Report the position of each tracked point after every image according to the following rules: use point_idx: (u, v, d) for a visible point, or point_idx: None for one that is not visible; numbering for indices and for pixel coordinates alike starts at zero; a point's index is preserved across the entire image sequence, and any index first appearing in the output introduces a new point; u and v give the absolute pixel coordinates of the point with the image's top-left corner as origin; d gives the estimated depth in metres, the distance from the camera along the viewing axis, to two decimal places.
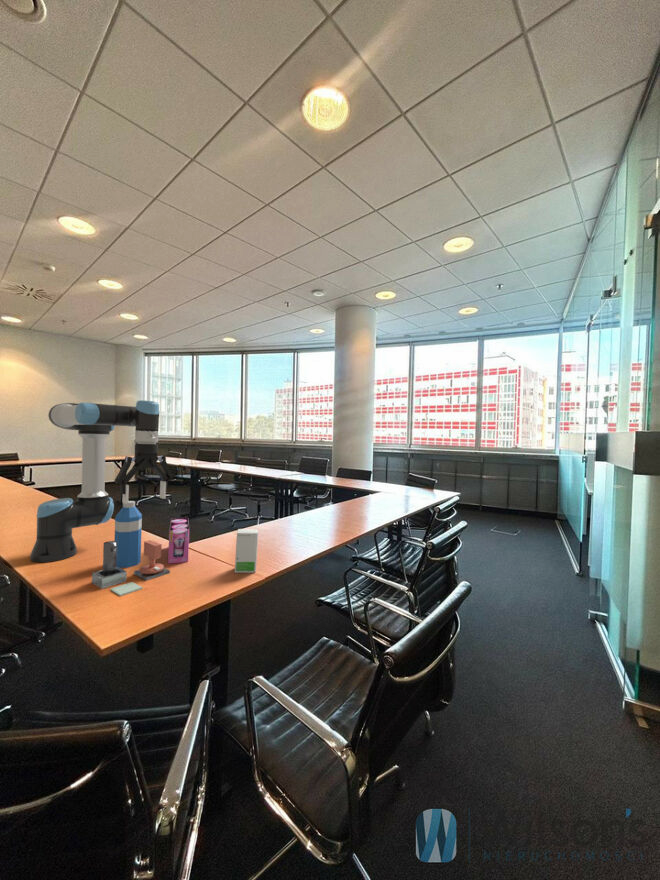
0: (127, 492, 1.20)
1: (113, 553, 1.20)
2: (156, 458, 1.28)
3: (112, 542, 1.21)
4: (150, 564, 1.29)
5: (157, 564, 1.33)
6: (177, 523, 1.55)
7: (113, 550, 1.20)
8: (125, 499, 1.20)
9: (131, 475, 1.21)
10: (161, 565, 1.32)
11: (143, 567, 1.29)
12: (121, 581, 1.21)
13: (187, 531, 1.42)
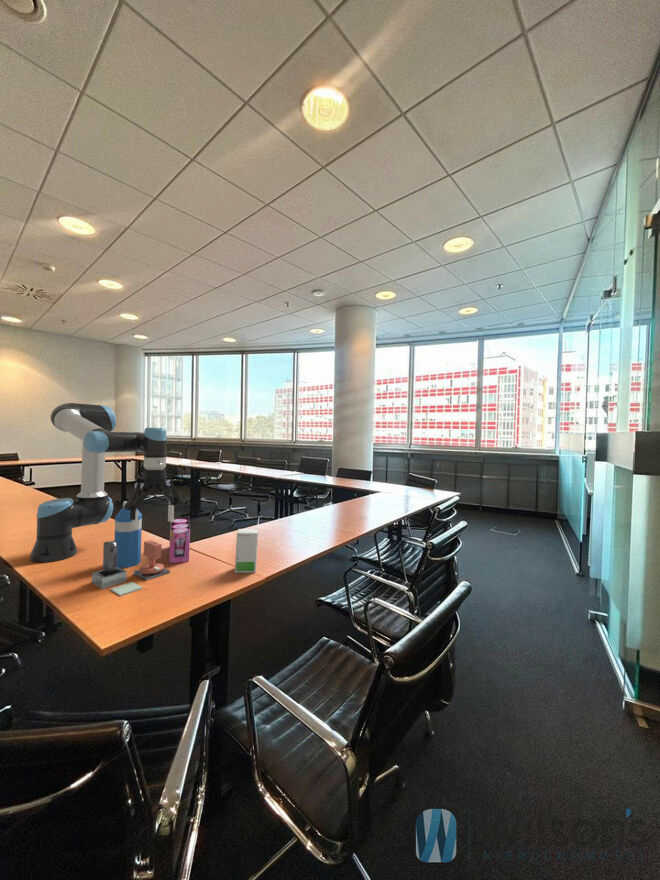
0: (136, 517, 1.23)
1: (113, 553, 1.20)
2: (164, 483, 1.31)
3: (112, 542, 1.21)
4: (150, 564, 1.29)
5: (157, 564, 1.33)
6: (178, 523, 1.55)
7: (113, 550, 1.20)
8: (135, 524, 1.23)
9: (140, 501, 1.24)
10: (161, 565, 1.32)
11: (143, 567, 1.29)
12: (121, 581, 1.21)
13: (188, 531, 1.43)
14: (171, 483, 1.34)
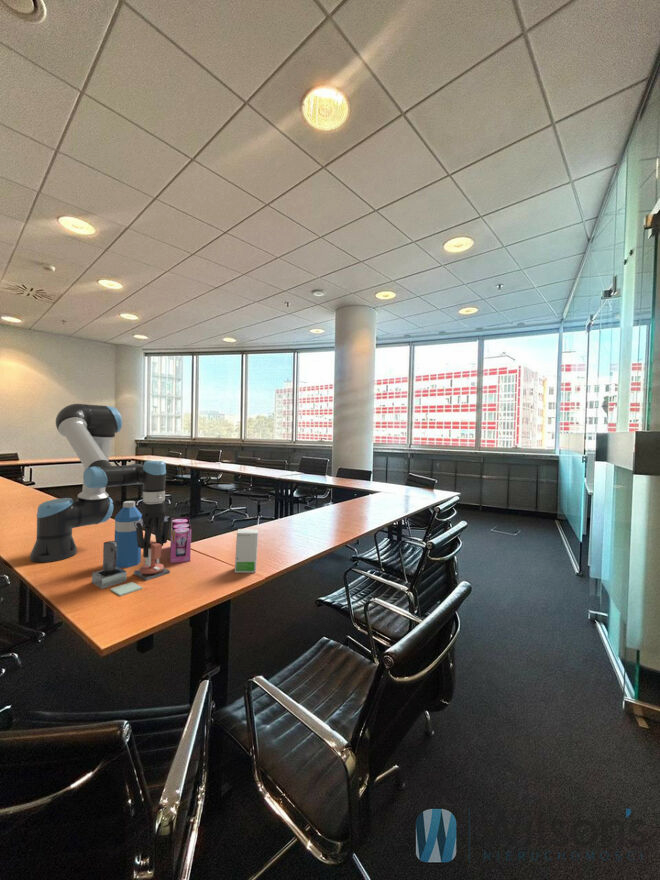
0: (149, 555, 1.27)
1: (113, 553, 1.20)
2: (163, 516, 1.31)
3: (112, 542, 1.21)
4: None
5: (157, 564, 1.33)
6: (178, 523, 1.56)
7: (113, 550, 1.20)
8: (148, 562, 1.28)
9: (148, 538, 1.27)
10: (161, 565, 1.32)
11: (143, 567, 1.29)
12: (121, 581, 1.21)
13: (189, 530, 1.43)
14: (168, 520, 1.33)
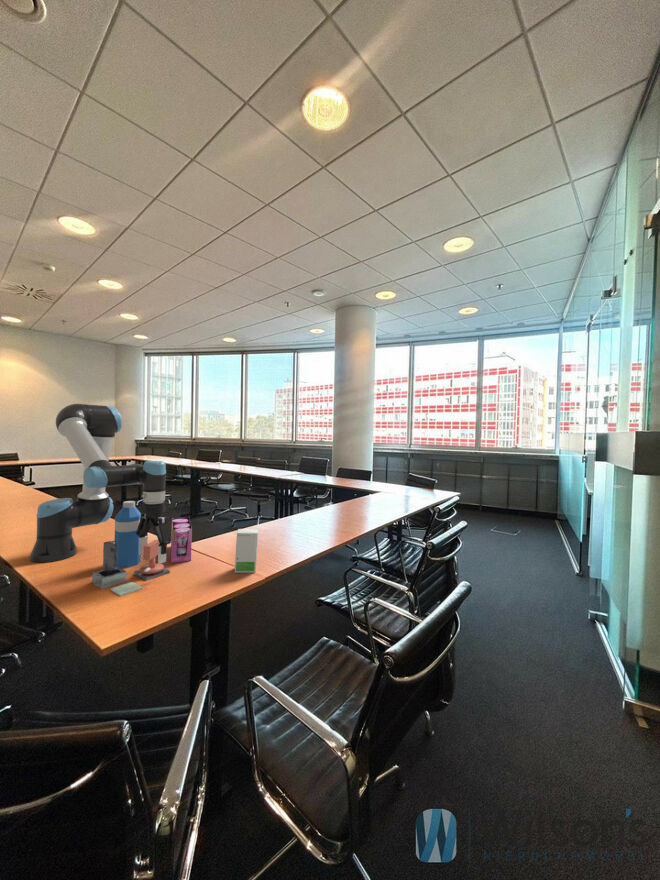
0: (139, 544, 1.32)
1: (113, 553, 1.20)
2: (155, 519, 1.27)
3: (112, 542, 1.21)
4: (149, 563, 1.29)
5: (160, 566, 1.31)
6: (179, 522, 1.56)
7: (113, 550, 1.20)
8: None
9: (142, 530, 1.32)
10: (158, 568, 1.29)
11: None
12: (121, 581, 1.21)
13: (190, 530, 1.43)
14: (159, 521, 1.25)
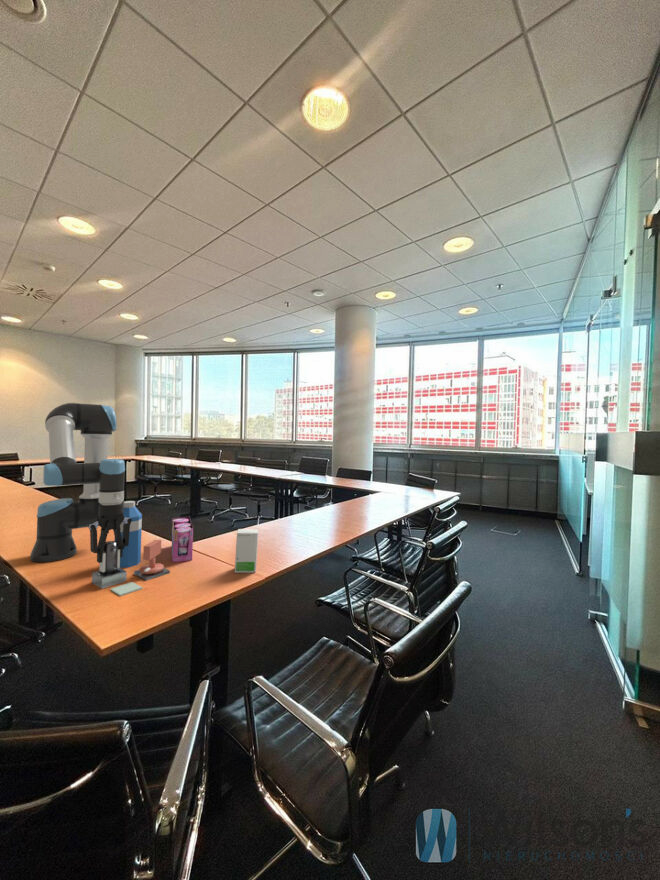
0: (103, 560, 1.18)
1: (113, 553, 1.20)
2: (122, 518, 1.23)
3: (112, 542, 1.21)
4: (149, 563, 1.29)
5: (160, 566, 1.31)
6: (179, 522, 1.56)
7: (113, 550, 1.20)
8: (102, 567, 1.19)
9: (103, 541, 1.18)
10: (158, 568, 1.29)
11: None
12: (121, 581, 1.21)
13: (191, 530, 1.44)
14: (128, 521, 1.25)
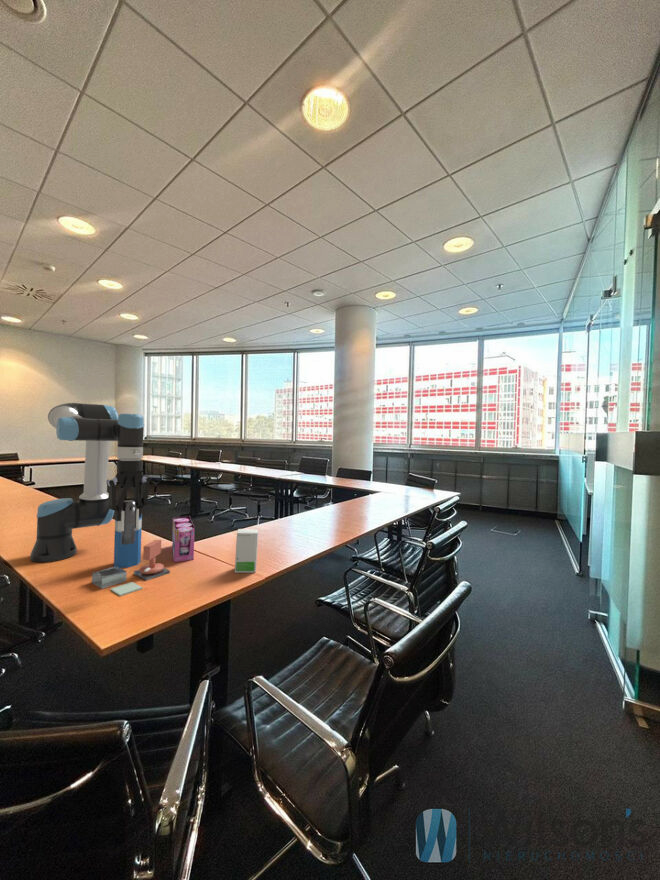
0: (122, 518, 1.13)
1: (132, 512, 1.15)
2: (141, 476, 1.18)
3: (131, 501, 1.16)
4: (149, 563, 1.29)
5: (160, 566, 1.31)
6: (180, 522, 1.57)
7: (132, 509, 1.15)
8: (120, 526, 1.13)
9: (122, 499, 1.13)
10: (158, 568, 1.29)
11: None
12: (121, 581, 1.21)
13: (193, 529, 1.45)
14: (147, 480, 1.20)
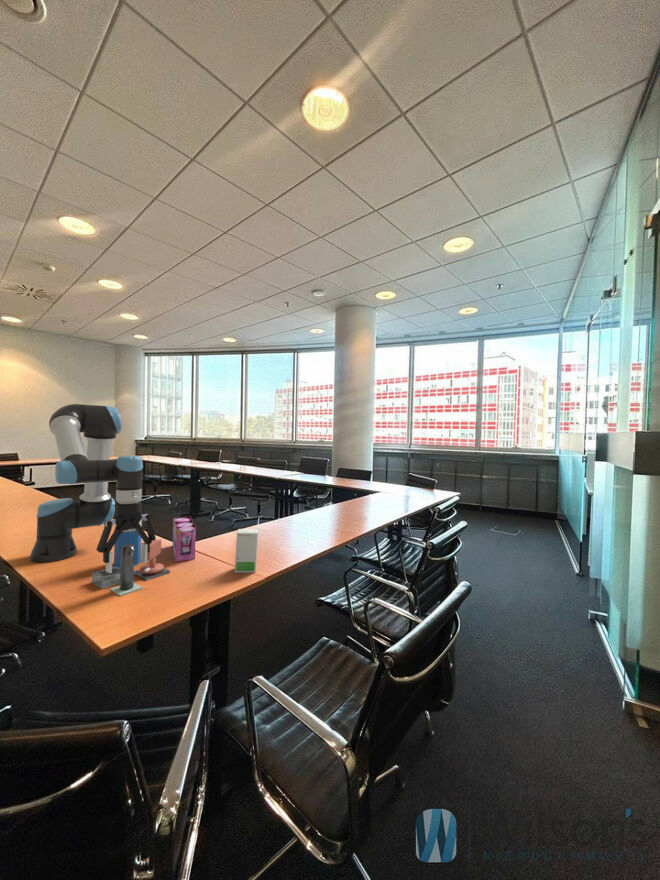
0: (110, 560, 1.11)
1: (131, 557, 1.16)
2: (140, 517, 1.18)
3: (129, 545, 1.17)
4: (149, 563, 1.29)
5: (160, 566, 1.31)
6: (181, 522, 1.57)
7: (130, 554, 1.15)
8: (108, 568, 1.11)
9: (114, 541, 1.11)
10: (158, 568, 1.29)
11: None
12: None
13: (194, 529, 1.45)
14: (147, 518, 1.20)
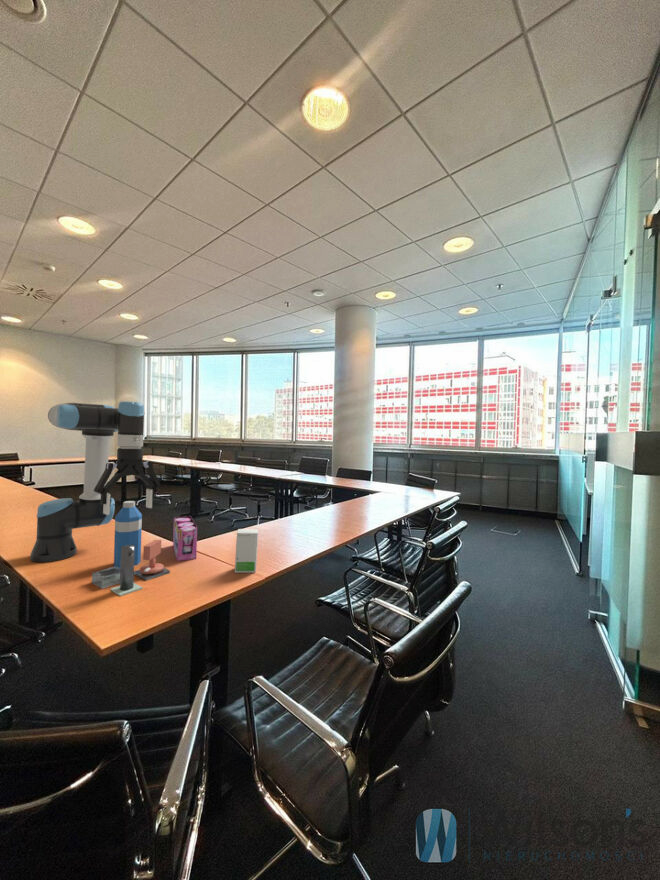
0: (108, 501, 1.09)
1: (131, 558, 1.15)
2: (141, 464, 1.18)
3: (130, 546, 1.16)
4: (149, 563, 1.29)
5: (160, 566, 1.31)
6: (181, 521, 1.58)
7: (131, 554, 1.15)
8: (106, 509, 1.10)
9: (113, 483, 1.10)
10: (158, 568, 1.29)
11: None
12: None
13: (195, 529, 1.46)
14: (149, 465, 1.20)
